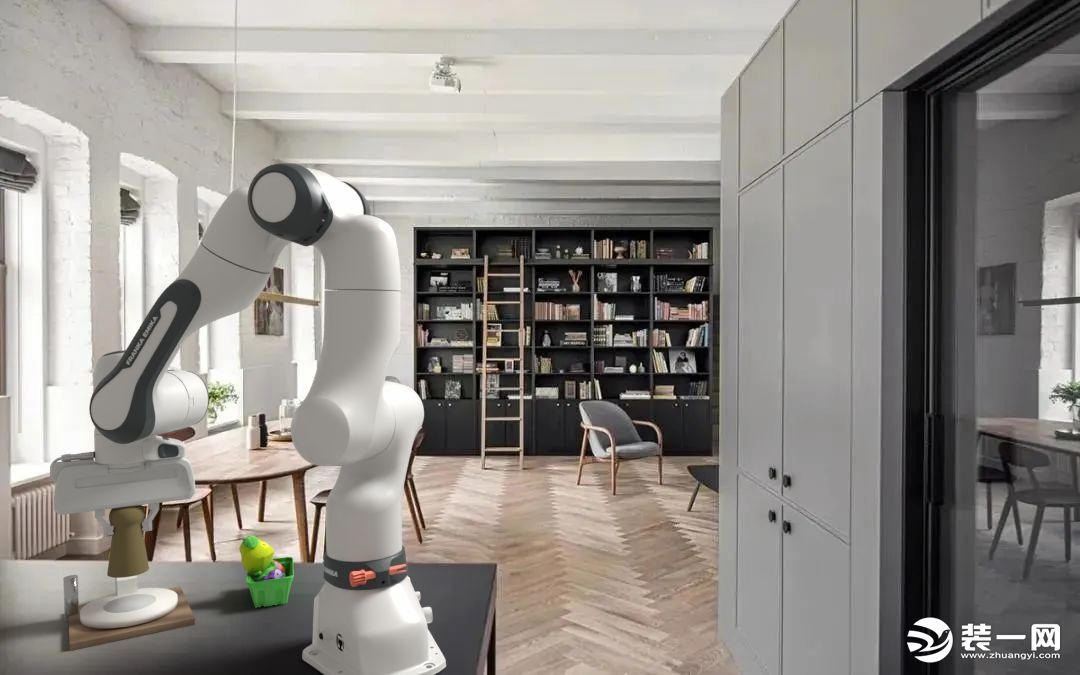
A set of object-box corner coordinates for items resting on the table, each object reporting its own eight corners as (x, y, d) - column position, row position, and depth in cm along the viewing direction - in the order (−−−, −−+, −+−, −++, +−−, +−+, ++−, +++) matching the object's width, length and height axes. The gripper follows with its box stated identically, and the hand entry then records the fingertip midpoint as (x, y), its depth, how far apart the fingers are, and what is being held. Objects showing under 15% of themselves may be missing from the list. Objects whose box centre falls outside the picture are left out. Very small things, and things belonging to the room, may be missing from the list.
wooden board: (194, 624, 120) (194, 616, 120) (69, 650, 111) (69, 642, 111) (180, 591, 134) (180, 585, 134) (68, 612, 125) (68, 605, 125)
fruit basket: (294, 605, 127) (293, 540, 127) (238, 613, 125) (237, 546, 124) (293, 583, 138) (292, 522, 138) (242, 589, 135) (240, 527, 135)
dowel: (79, 620, 122) (77, 577, 122) (64, 622, 121) (63, 580, 121) (78, 616, 124) (77, 574, 124) (64, 618, 123) (63, 576, 123)
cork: (129, 579, 119) (128, 510, 119) (98, 576, 120) (96, 508, 120) (157, 566, 125) (156, 501, 124) (127, 563, 126) (125, 499, 126)
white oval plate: (183, 615, 120) (182, 592, 120) (81, 636, 113) (80, 611, 113) (169, 582, 136) (169, 562, 135) (78, 598, 128) (78, 577, 128)
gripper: (49, 458, 114) (51, 549, 114) (196, 445, 125) (197, 528, 125) (49, 452, 119) (52, 538, 119) (190, 440, 130) (192, 519, 130)
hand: (127, 533), depth 122 cm, fingers closed on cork, 4 cm apart
